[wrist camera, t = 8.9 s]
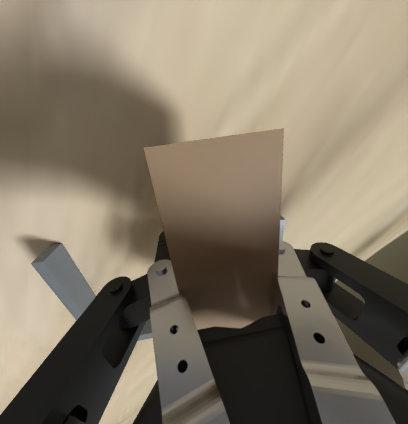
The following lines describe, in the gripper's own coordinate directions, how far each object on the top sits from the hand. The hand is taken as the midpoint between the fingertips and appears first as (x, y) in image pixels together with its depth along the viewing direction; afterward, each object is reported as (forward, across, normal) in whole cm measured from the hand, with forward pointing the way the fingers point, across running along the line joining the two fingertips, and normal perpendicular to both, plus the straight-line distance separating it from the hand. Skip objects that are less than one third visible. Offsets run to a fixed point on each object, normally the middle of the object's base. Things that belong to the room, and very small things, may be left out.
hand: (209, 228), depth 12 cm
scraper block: (+1, 0, -2) cm, 2 cm away
